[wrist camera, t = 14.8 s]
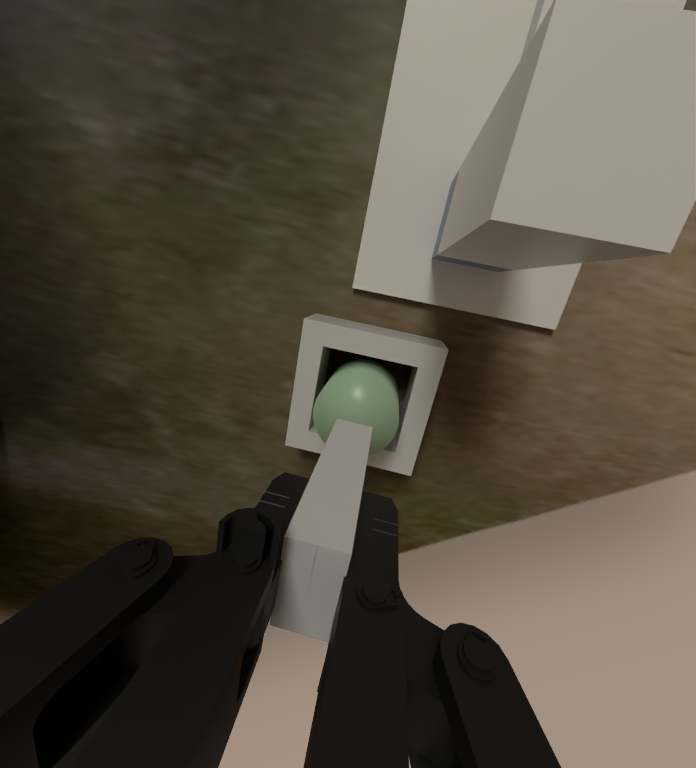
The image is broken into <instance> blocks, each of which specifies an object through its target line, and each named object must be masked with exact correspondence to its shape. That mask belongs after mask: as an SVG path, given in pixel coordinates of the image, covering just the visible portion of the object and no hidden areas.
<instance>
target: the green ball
mask: <svg viewBox="0 0 696 768" xmlns="http://www.w3.org/2000/svg"><path fill="white" fill-rule="evenodd" d="M336 419H340V420H344V421H349V422H353V423H357V424H361V425H365V426H369V427H373V429H372V435H371V441H370V447H369V453H368V456H369V455H372V454H375V453H377V452H379V451H381V450H383V449H384V448H385V447H386V446H388V444H389V443H390V442H391V441H392V440H393V438H394V436H395V435H396V432H397V429H398V425H399V396H398V387H397V383H396V381H395V379H394V377H393V375H392V374H391V373H390V371H389V370H388V369H386V368H385V367H384V366H383V365H381V364H379V363H377V362H375V361H371V360H366V359H357V360H352V361H349V362H347V363H345V364H343V365H341V366H340V367H339V368H338V369H337V370H336V371H335V372H334V373H333V375H332V376H331V377H330V379H329V380H328V382H327V383H326V385H325V386H324V388H323V389H322V391H321V392H320V393H319V395H318V397H317V399H316V401H315V404H314V408H313V421H314V425H315V428H316V431H317V433H318V435H319V436H320V438H321V439H322V440H323V441H324V443H326V442H327V440H328V437H329V435H330V433H331V431H332V428H333V426H334V424H335V422H336Z"/></svg>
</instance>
